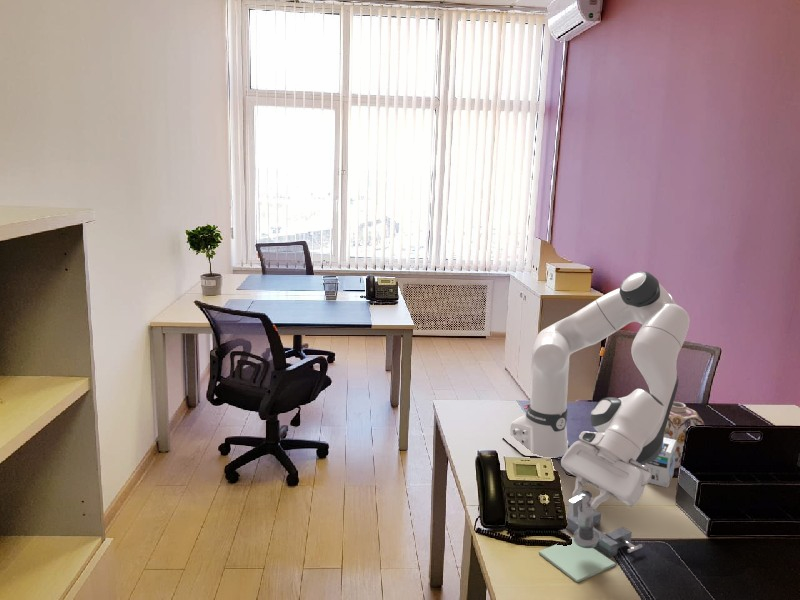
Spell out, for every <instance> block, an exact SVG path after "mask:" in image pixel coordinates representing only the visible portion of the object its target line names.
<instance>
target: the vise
mask: <svg viewBox="0 0 800 600" xmlns="http://www.w3.org/2000/svg"><path fill="white" fill-rule="evenodd" d="M592 510H593V530H595V531H596V532H597V533H598V534H599V544H598V545H597V546H596V547H594V549H595V550H597V551H598V552H600V553H601V554H603V555H604V556H606V557H607V558H612V557H614V556H615V557H616V556H618V550H619V549H622V548H624V547H626V546H627V547H628V548H627V550H626V552H627V553H628V554H630V553H633V552H635V551H637V550H639V549H641V548H643V547H644V546H643V544H642V543H640V544H636V545H634V543H632V534H633V533H632V531H630V530H629V529H627V528H626V527H624V526H622V527H619V528H617V529H614V530H612V531H609V532H607V533H603V532H602V531H600V530H598V529H597V528H595V527H597V526H599V525H601V521H602V520H601V519H602V518H601V517H602V516H601V515H602V513H601V512H599V511H598V510H597V509H593V508H592ZM566 515H567V521H568V526H567V528H566V530H568V531H570V532H571V533H572V534H574V532H575V531H576V530H577V529H579V525H578V515H577V516H575V517H573V516H571V515H570V514H569V513H566Z"/></svg>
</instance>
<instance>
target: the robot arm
mask: <svg viewBox="0 0 800 600" xmlns="http://www.w3.org/2000/svg"><path fill="white" fill-rule="evenodd" d="M630 323H639V324H641V326H640V327H639V330H638V331H637V332H636V335H635V336H634V339H633V341H632V344H631V347H630V349H631V350H630V351H631V352H630V353H631V357H632V359H633V362H634V364H635V366H636V368H637V369H638V371H639V372H640V374H641V375H642V377H643V379H644V381H645V382H646V384H647V386H648V389H649V391H648V390H646V389H643V388H636V389H634V390H633V391H632V392H630V393H629V394H628V395H626V396H622V397H618V398H617V397H615V396H614V397H612V396H611V397H610V396H609V397H604V398H601V399H600V400H599V401H597V402H596V404H595V405H594V407H593V408H592V410H591V411H590V425H591V426H592V427H593V429H594V430H595V431H596V432H595V431H594V432H593V431H582V432H581V433H580V434H579V436H578V439H579V440H576V441H575V442H573V443H572V444H571V445H570V446H569V440H568V430H567V429H568V428H567V421H568V416H569V415H568V409H567V406H568V405H567V404H568V403H567V401H568V399H567V398H568V386H569V385H568V384H569V371H570V370H569V369H570V356H571V355H572V354H573V353H575V352H578V351H580V350H582V349H585V348H587V347H590V346H595V345H597V344H598V343H600V342H601V341H603V340H604V339H606V338H608V337H609V336H611V335H613V334H615V333H616V332H619V330H621V329H622V328H624V327H626V326H627V325H628V324H630ZM690 323H691V317H690V315H689V313H688V312H687V310H685V309H684V308H683V307H682V306H680V305H678V304H677V303H676V301H675V300H674V298H673V296H672V295H671V294H670V293H669V292H668V291H667V289H665V287H663V285H662V284H661V283H660V282H659V279H658V278H657V277H655V276H654V275H653V274H651V273H650V272H649V271H645V270H644V271H638V272H637V271H636V272H634V273H631V274H630V275H628V276H627V277H625V278H624V280H623V281H622V282H621V284H620V286H619V287H618V288H616V289H613V290H611V291H608V293H606V294H603V295H602V296H599V298H596V299H595V300H593V301H592V302H590V303H588V304H587V305H586V306H584V307H582V308H580V309H578V310H577V311H576V312H574V313H572V314H570V315H569V316H567V317H565V318H563V319H560V320H558V321H556V322H555V323H553V324H550V325H549V326H547V327H546V328H543V329H542V330H541V331H540V332H538V334H537V336H536V337H535V341H534V343H533V347H532V349H531V387H530V388H531V389H530V403H529V404H527V405H523V406H524V408H523V409H524V410H526V412H525V414H523V415H521V416H519V417H518V418H516V419H514V420H513V421H512V422H511V423H510V427H509V431H510V435H511V436H513V437H514V438H515V439H516V440H517V441H519V442H520V443H521V444H522V445H524V446H525V447H526V448H527V449H529V450H530V451H531V453H533V454H537V455H539V456H543V457H553V458H554V457H559V456H562V455H564V456H563V457H562V458H560V466H561V467H562V468H563V469H564V470H565V471H566V472H567V473H569V474H571V475H573V476H574V477H576V478H575V484H574V485H575V486H574V489H573V491H572V493H571V496H572V498H574V497H576V496H577V493H578V492H579V491H583V490H582V489H583V486H584V487H585V486H586V484H589V485H591V486H593V487H594V488H597V490H599V493H600V494H598V495H597V496H595V497H593V496H592V497H591V498H590V501H588V503H587V504H588V505H589V506H590V507H591V508H592V509H594V510H597V509H598V507H599V506H600V504H602V503H604V502H606V501H608V500H610V497H612V498H615V499H616V500H619V501H620V502H621V503H624V504H626V505H627V506H629V507H634V506H636V505H638V503H639V501H640V499H641V497H642V495H643V493H644V491H645V489H646V486H647V484H648V482H649V481H650V479H651V477H652V473H651V471H650V470H649V467H647V466H645V465H646V463H649V462H652V461H654V460H655V459H656V458H657V457H658V456H659V454H660V452H661V450H662V446H663V439H664V432H665V428H666V425H667V421H668V418H669V415H670V411H671V408H672V405H673V402H675V398H676V395H677V392H678V387H679V377H678V372H677V362H678V357H679V353H680V351H681V349H682V347H683V345H684V343H685V341H686V338H687V335H688V331H689V328H690ZM648 471H649V472H648Z"/></svg>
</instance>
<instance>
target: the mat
mask: <svg viewBox="0 0 800 600" xmlns="http://www.w3.org/2000/svg"><path fill="white" fill-rule="evenodd" d="M570 539H572V544H571V545H567V546H563V545H557V544H558V543H556V544H554V545H550V546H548V547H545V548H544V549H541V550H539V551H538V554H539V555H540V556H541V557H543V558H544V559H545V560H546V561H548V562H549V563H550V564H552V565H553V566H555V567H556V568H557V569H558V570H560V571H561V572H562V573H564V574H565V575H566V576H568V577H569V578H570V579H571V580H573V581H574V582H575V583H579V582H582V581H585V580H586V579H588V578H591V577H594V576H595V575H598V574H599V573H601V572H604V571H606V570H609V569H611V568H613V567H615V566H616V562H614V561H613V560H611V558H610V557H608V556H607V555H605V554H604V553H602V552H601V551H599V550H598V549H596V548H595V547H594V548H582V547H580V546H578V545H577V544H576V543H575V542H574V536H573V537H571V538H570Z"/></svg>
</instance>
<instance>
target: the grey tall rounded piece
mask: <svg viewBox="0 0 800 600" xmlns="http://www.w3.org/2000/svg"><path fill="white" fill-rule="evenodd" d="M591 497H592V498H593V495H592V493H591V492H590V491H588V490H585V489H584V490H582V491H579V492H578V493H577V496H576V497H572V498H570V499H569V500H568V514H570V515H571V516H573V517H575V516H577V515H578V525H579V529H577V530H576V531H575V532H574V533H573V537H574V542H575V543H576V544H577V545H578V546H580V547H582V548H594V549H595V547H596V546H597V545H598V544H599V534H598V533H597V532H596V531H595V530H593V510H592V509H593V508H591V507H590V506H589V505H588V504H587V503H588V501H590V498H591Z"/></svg>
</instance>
